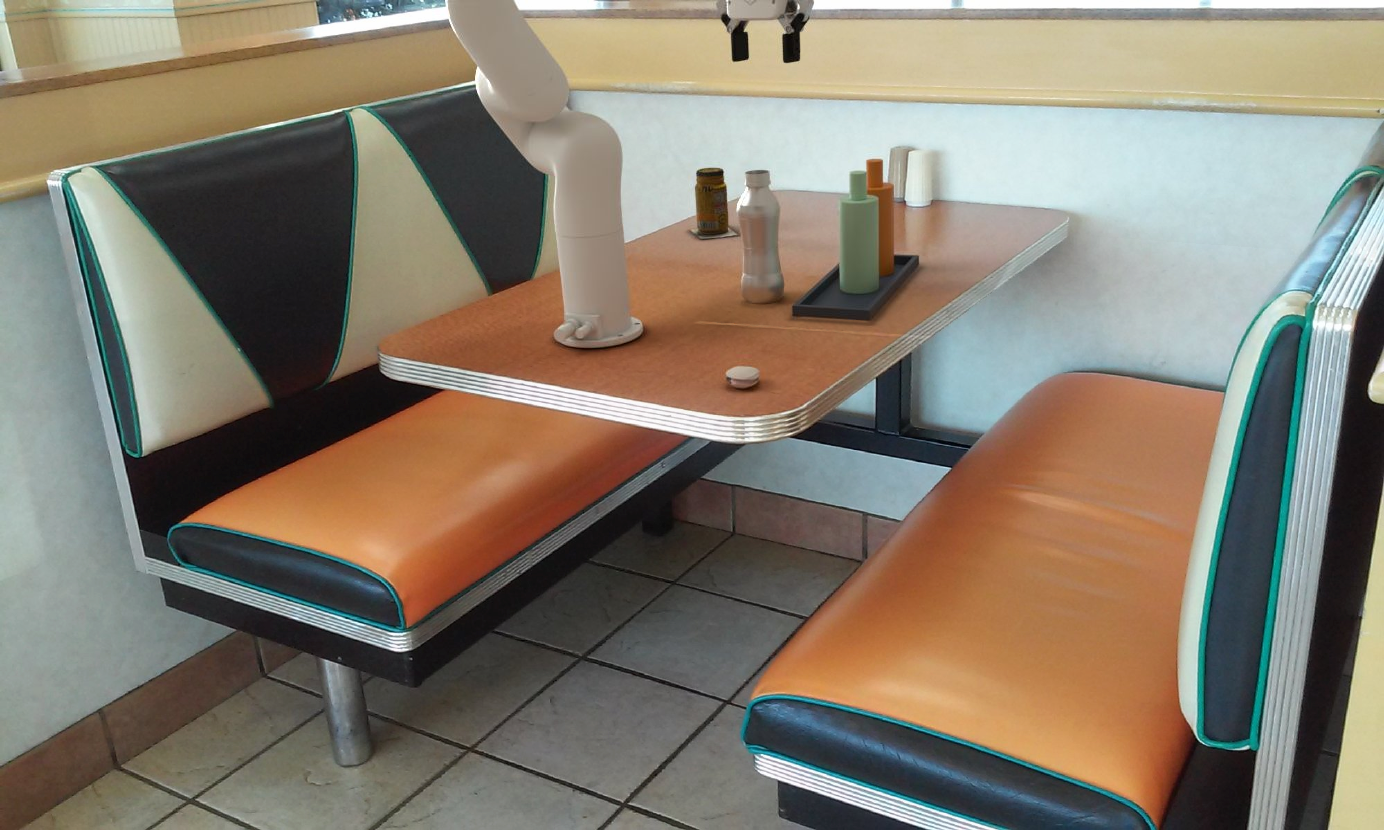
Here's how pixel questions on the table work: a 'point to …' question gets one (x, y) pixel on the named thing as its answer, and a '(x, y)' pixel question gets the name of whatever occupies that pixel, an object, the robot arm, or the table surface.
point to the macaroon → (742, 376)
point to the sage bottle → (858, 237)
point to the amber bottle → (882, 214)
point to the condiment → (711, 204)
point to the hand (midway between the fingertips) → (765, 61)
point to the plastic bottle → (760, 240)
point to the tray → (842, 305)
